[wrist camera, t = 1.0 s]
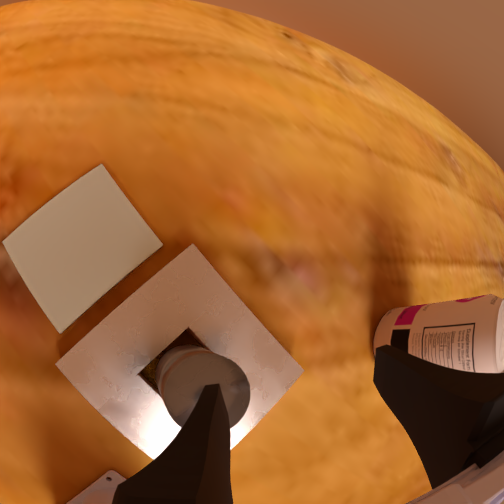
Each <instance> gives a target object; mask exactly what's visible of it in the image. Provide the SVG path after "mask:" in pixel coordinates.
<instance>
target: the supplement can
mask: <svg viewBox="0 0 504 504" xmlns="http://www.w3.org/2000/svg"><path fill="white" fill-rule="evenodd" d="M386 344H387V345H390V346H393V347H395V348H398V349H400V350H402V351H404V352H407V353H409V354H411V355H414V356H416V357H419V358H421V359H424V360H426V361H429V362H432V363H435V364H438V365H441V366H444V367H448V368H452V369H457V370H462V371H469V372H477V373H504V299H501V298H499V297H497V296H495V295H492V294H489V295H483V296H477V297H472V298H465V299H459V300H453V301H446V302H439V303H432V304H424V305H416V306H408V307H399V308H394V309H392V310H389V311H388V312H387V313H386V314H385V315H384V316H383V317H382V319H381V321H380V323H379V325H378V327H377V329H376V331H375V336H374V340H373V352H374V356H375V353H376V348H377V347H380V346H383V345H386Z"/></svg>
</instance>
